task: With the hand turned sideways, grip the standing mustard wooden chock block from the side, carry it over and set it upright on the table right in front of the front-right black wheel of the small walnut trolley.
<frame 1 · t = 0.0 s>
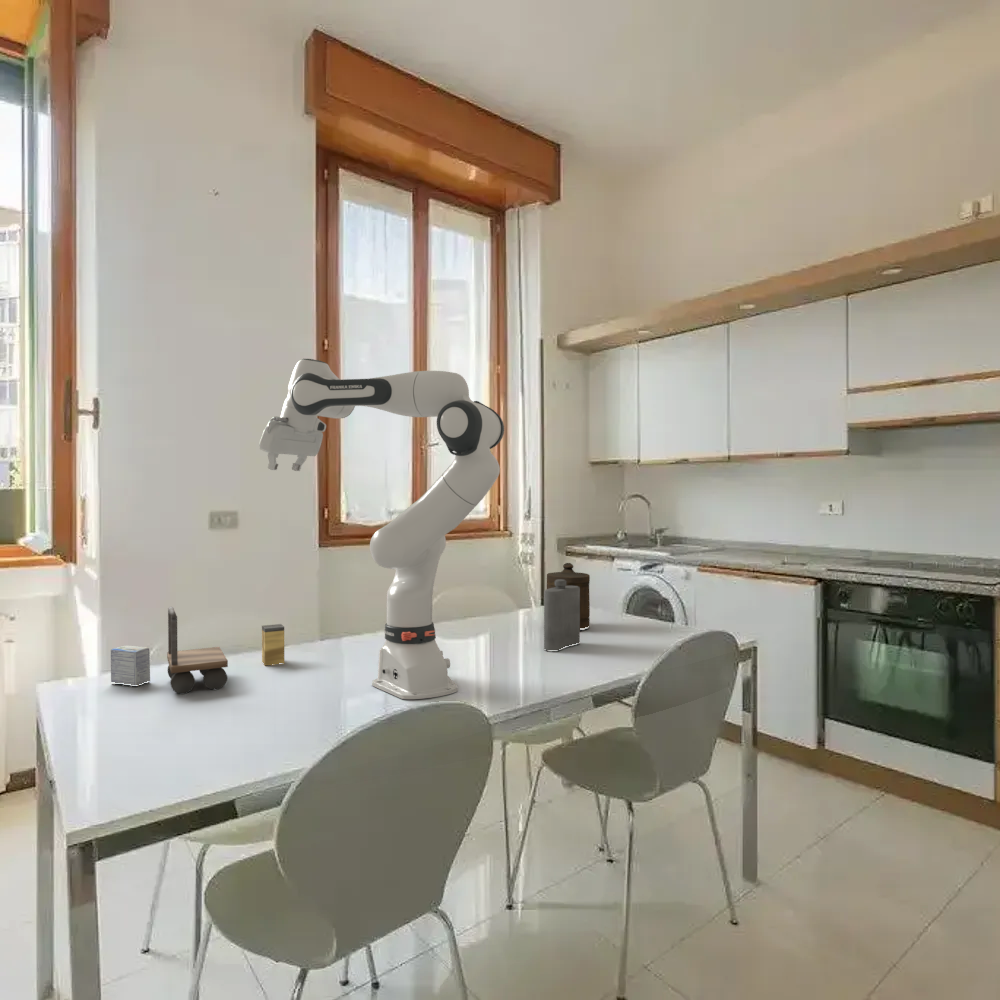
hand: (284, 470, 182), 52 cm above the table, tool tilted 20°, fingers open, 8 cm apart
chock block: (273, 663, 187), on the table
grey wood-grain block: (130, 684, 167), on the table
wooden container: (567, 628, 235), on the table
flask: (560, 647, 206), on the table
trolley: (196, 684, 167), on the table
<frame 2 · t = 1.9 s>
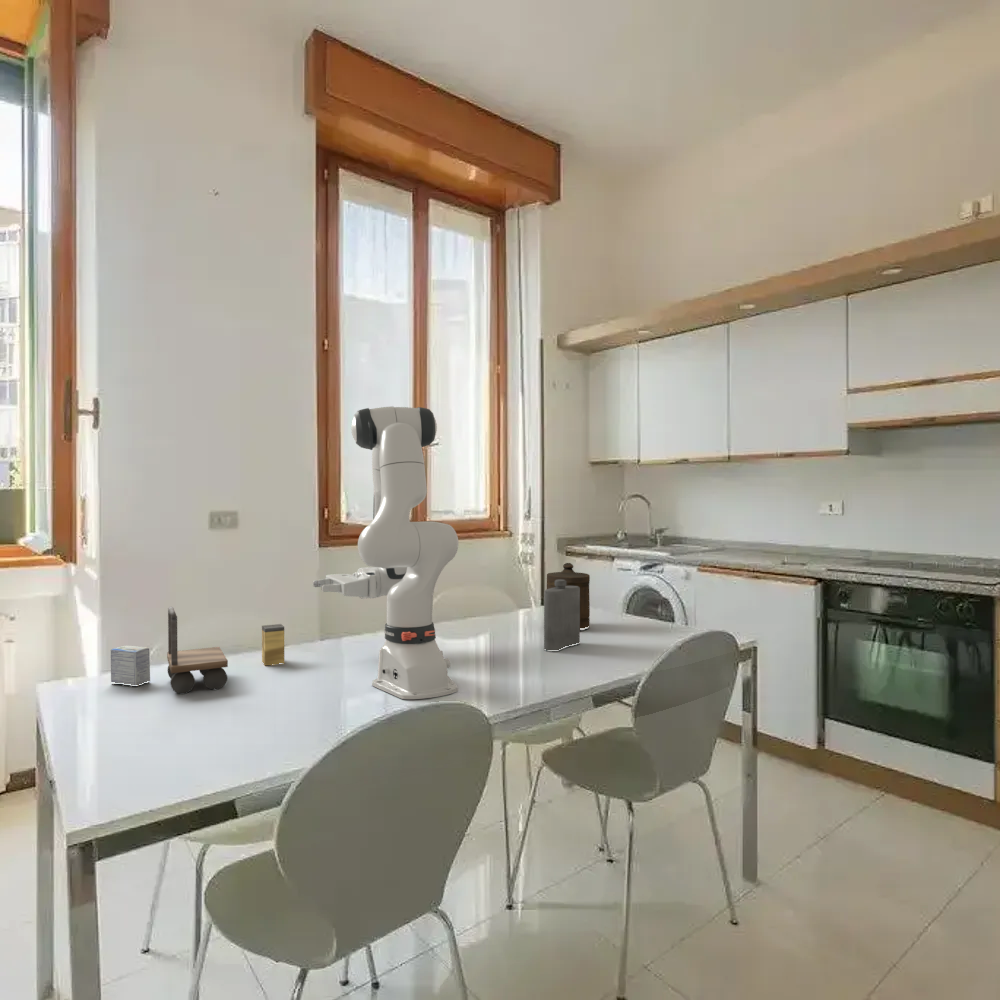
hand: (317, 586, 192), 20 cm above the table, tool horizontal, fingers open, 8 cm apart
nothing on the table moved.
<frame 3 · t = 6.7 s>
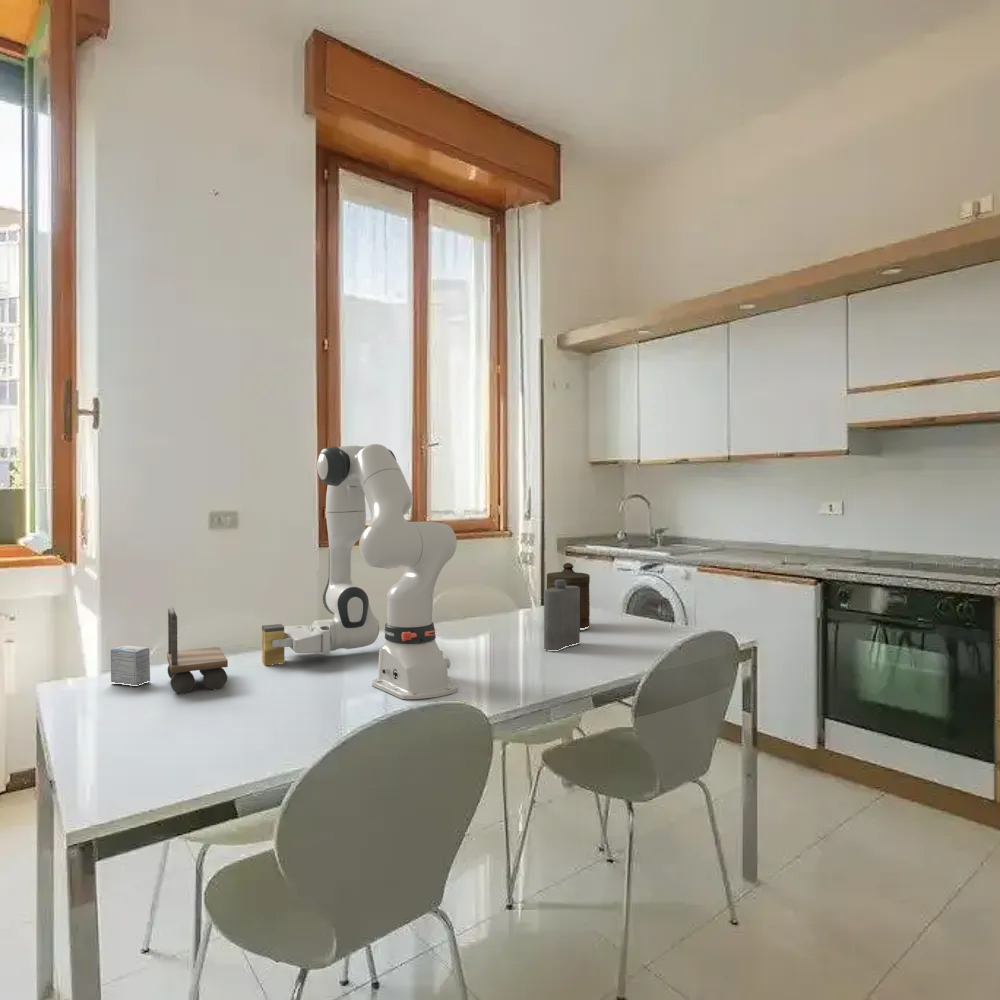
hand: (269, 641, 186), 6 cm above the table, tool horizontal, fingers closed on chock block, 4 cm apart
chock block: (273, 663, 187), on the table, touching gripper
everything else where it was.
when the fingers open (7 cm above the table, at t = 12.7 s): chock block drops 1 cm, on the table.
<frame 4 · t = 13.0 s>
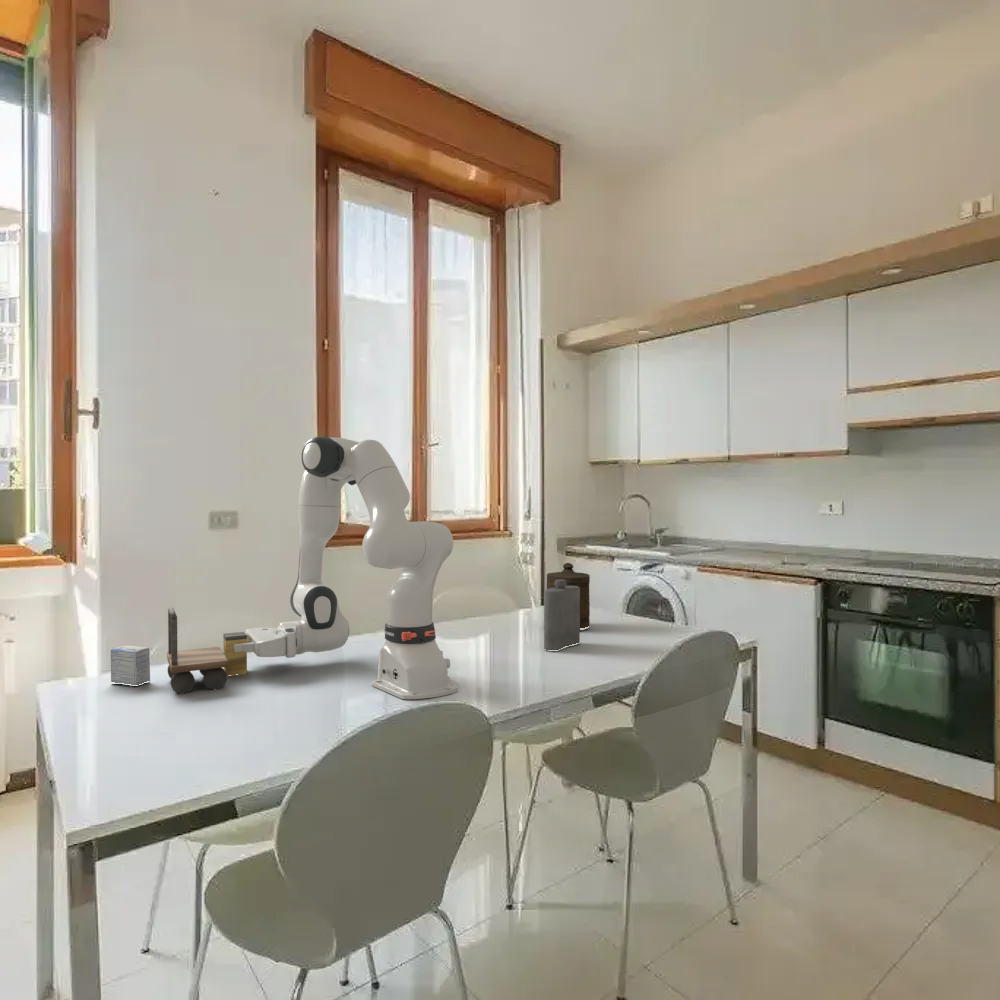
hand: (231, 644, 176), 7 cm above the table, tool horizontal, fingers open, 8 cm apart
chock block: (235, 673, 176), on the table
everything else where it was.
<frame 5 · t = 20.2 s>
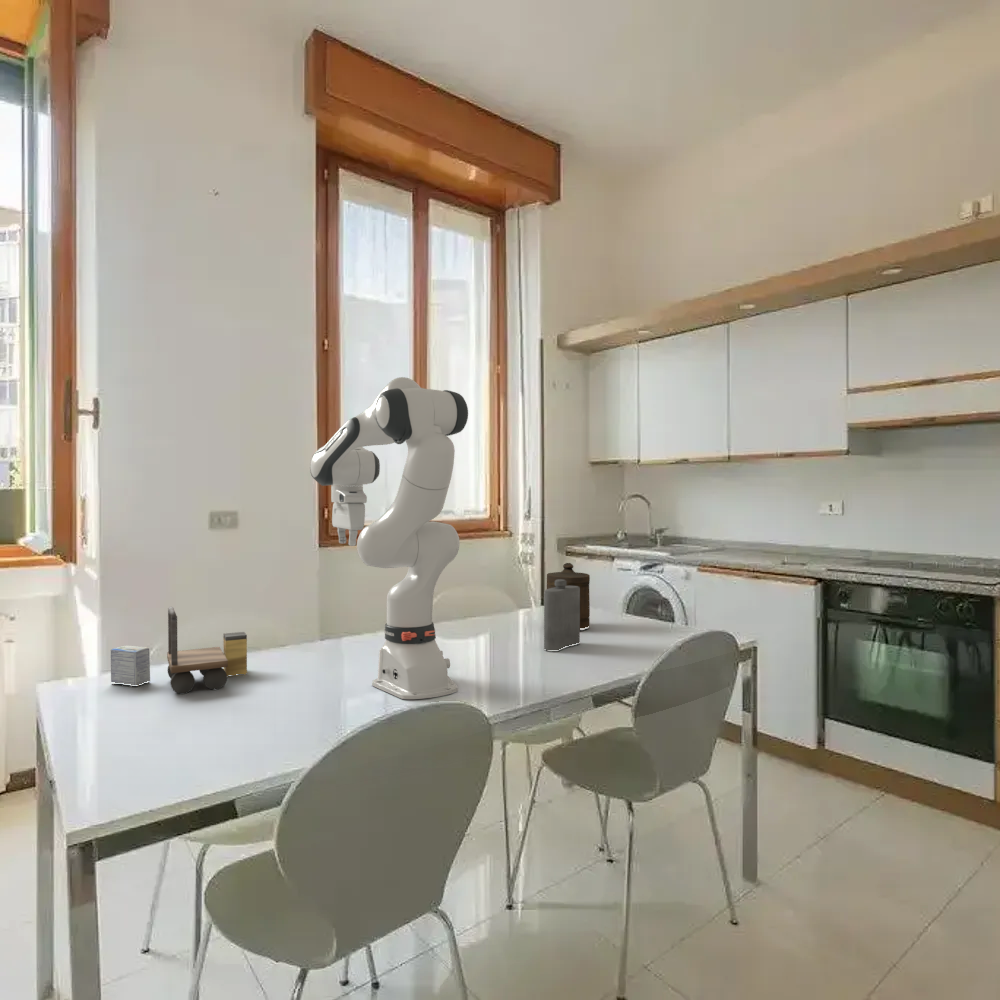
hand: (347, 544, 198), 31 cm above the table, tool pointing down, fingers open, 8 cm apart
nothing on the table moved.
at the end: chock block 0.8 cm from the target spot on the table beside the trolley, on the table; chock block tilted 0°; the gripper is holding nothing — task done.
